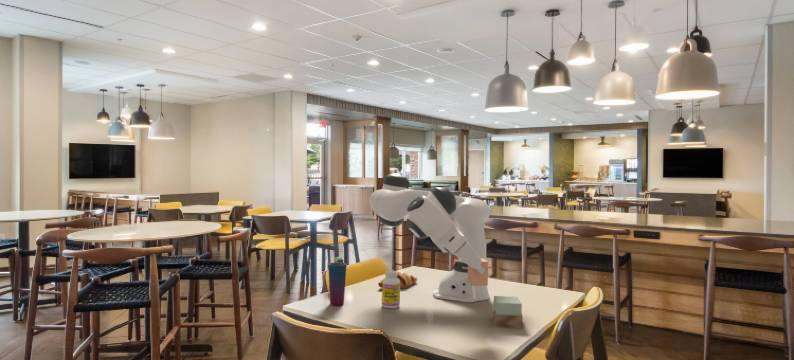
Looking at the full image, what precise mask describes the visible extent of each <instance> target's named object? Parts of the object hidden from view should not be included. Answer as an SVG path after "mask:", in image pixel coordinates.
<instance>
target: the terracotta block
mask: <svg viewBox="0 0 794 360" xmlns="http://www.w3.org/2000/svg"><path fill="white" fill-rule="evenodd" d="M481 260H482V263H481V264H480V265H481V266H482V267H483V268H484V269H485V272H484V273H483V274H480V273H479V272H478V271H477V270H476V269H473V268H471V267H470V266H469V265H468V283H469V284H470V285H471V286H487V287H488V285H489V282H488V281H489V280H488V279H489V261H488V260H487V259H486V260H485V259H481Z"/></svg>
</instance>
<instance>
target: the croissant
mask: <svg viewBox="0 0 794 360" xmlns="http://www.w3.org/2000/svg"><path fill="white" fill-rule="evenodd" d="M397 272H398V275H397V278H398V279H399V280H400V290H401V289H405V288H408V287H410V286H412V285H413V284H416V283H417V282H418V277H416V276H414V275H412V274H411V275H410V274H408V273H406V272H403V273H401V272H400V271H397ZM384 278H386V276H385V277H384ZM382 281H383V279H382V280H380V282H378V283H377V285H378V287H380V288H381V289H382Z"/></svg>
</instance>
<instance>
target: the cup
mask: <svg viewBox="0 0 794 360" xmlns="http://www.w3.org/2000/svg"><path fill="white" fill-rule="evenodd" d="M327 265H328V266H327V268H328V283H329V284H328V285H329V304H330V305H331V306H333V307H341V306H343V305H344V304H345V294H346V293H345V290H346V281H347V279H346V278H347V265H348V264H347V263H346V262H343V263H342V262H335V261H334V262H329V263H327Z"/></svg>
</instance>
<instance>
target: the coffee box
mask: <svg viewBox="0 0 794 360" xmlns="http://www.w3.org/2000/svg"><path fill="white" fill-rule="evenodd" d="M334 262H342V263H344V259H343V258H342V257H341V256H335V257H334Z"/></svg>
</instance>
